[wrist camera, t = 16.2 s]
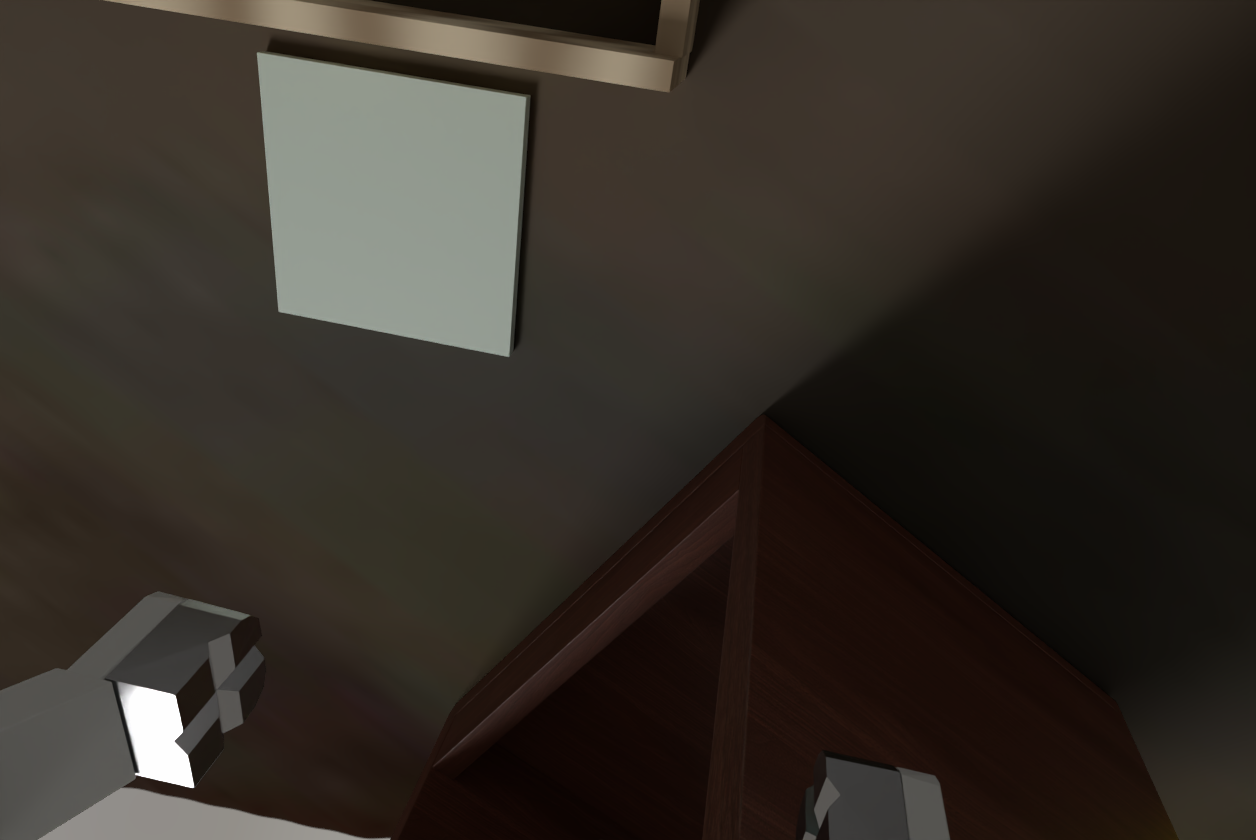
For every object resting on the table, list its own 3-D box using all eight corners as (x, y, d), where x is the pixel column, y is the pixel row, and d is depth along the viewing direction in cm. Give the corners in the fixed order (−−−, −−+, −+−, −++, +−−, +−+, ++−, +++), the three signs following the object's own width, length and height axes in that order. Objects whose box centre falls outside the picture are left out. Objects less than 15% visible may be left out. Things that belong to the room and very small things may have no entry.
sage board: (530, 95, 41) (526, 97, 40) (513, 351, 47) (509, 357, 47) (266, 51, 42) (256, 52, 41) (286, 307, 49) (278, 311, 48)
